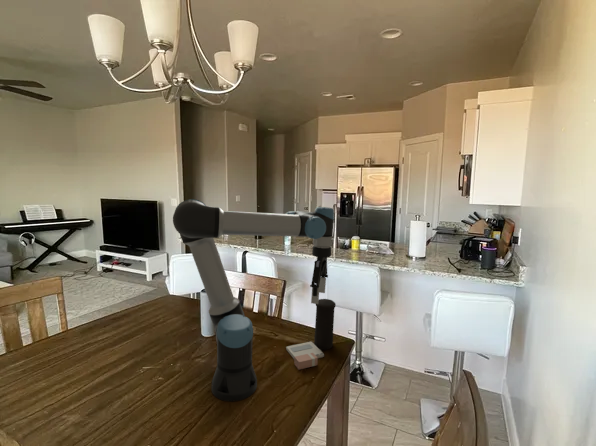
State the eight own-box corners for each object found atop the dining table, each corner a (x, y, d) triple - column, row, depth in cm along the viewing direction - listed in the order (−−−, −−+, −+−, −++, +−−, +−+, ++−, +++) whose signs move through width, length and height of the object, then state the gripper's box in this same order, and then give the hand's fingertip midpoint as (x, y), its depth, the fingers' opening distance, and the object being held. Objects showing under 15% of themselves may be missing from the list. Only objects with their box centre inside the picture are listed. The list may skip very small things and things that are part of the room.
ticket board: (297, 363, 125) (297, 359, 125) (286, 349, 135) (286, 346, 135) (323, 356, 130) (324, 353, 130) (311, 344, 140) (311, 341, 140)
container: (333, 340, 143) (335, 297, 141) (333, 351, 135) (336, 305, 132) (314, 339, 144) (315, 296, 142) (312, 349, 135) (315, 304, 133)
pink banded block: (298, 369, 120) (298, 362, 120) (294, 364, 124) (294, 356, 123) (317, 365, 124) (317, 357, 123) (312, 359, 127) (312, 352, 127)
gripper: (325, 253, 114) (321, 310, 117) (336, 242, 138) (332, 289, 141) (305, 250, 116) (301, 306, 119) (319, 240, 140) (315, 287, 143)
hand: (318, 297), depth 130 cm, fingers open, 13 cm apart
